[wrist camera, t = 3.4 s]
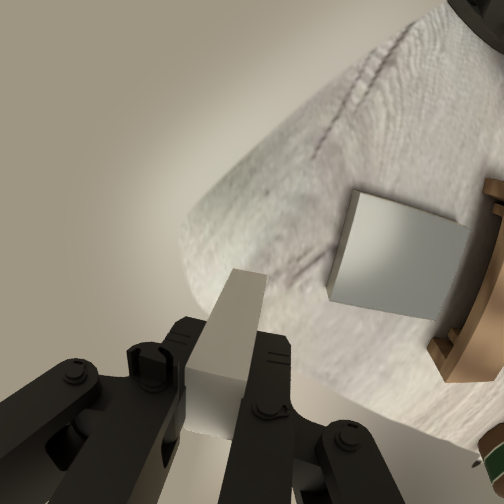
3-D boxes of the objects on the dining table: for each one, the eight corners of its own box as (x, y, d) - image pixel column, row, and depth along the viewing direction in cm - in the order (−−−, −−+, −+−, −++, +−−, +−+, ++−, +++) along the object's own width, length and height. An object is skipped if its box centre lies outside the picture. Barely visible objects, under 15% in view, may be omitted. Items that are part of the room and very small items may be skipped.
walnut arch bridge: (485, 177, 20) (522, 185, 14) (529, 201, 19) (563, 212, 14) (426, 349, 26) (445, 382, 20) (473, 352, 25) (493, 381, 20)
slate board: (352, 188, 23) (360, 192, 20) (454, 221, 22) (470, 229, 19) (325, 285, 26) (329, 301, 23) (424, 305, 25) (435, 320, 22)
